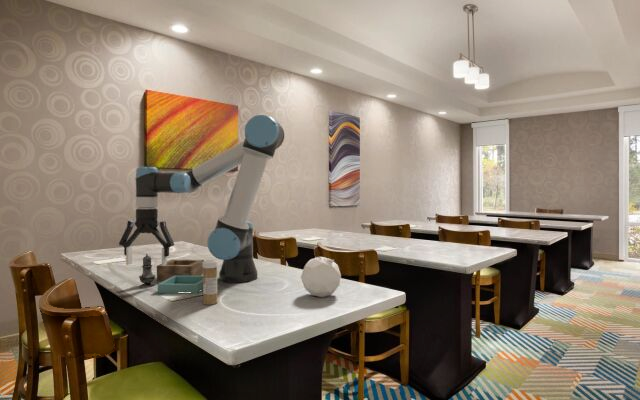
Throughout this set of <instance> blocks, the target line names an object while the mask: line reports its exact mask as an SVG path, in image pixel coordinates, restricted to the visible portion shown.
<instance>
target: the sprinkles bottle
mask: <svg viewBox="0 0 640 400" xmlns="http://www.w3.org/2000/svg"><path fill="white" fill-rule="evenodd" d="M202 266H203V275H202V276H203V290H202V294H203V297H202V298H203V301H202V303H203V305H206V306H207V305H215V304H217V303H218V302H219V301H218V260H215V259H207V260H204V261H203V264H202Z"/></svg>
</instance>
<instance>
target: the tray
mask: <svg viewBox="0 0 640 400" xmlns="http://www.w3.org/2000/svg"><path fill="white" fill-rule="evenodd" d="M202 289H203V275H201V276H173V277H171V278H169V279H167V280H165V281H160V282H159V283H157V294H179V293H178V292H191V293H197V292H199V291H200V290H202ZM202 291H203V290H202ZM200 292H201V291H200ZM200 292H199V293H200ZM197 294H198V293H197Z"/></svg>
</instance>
